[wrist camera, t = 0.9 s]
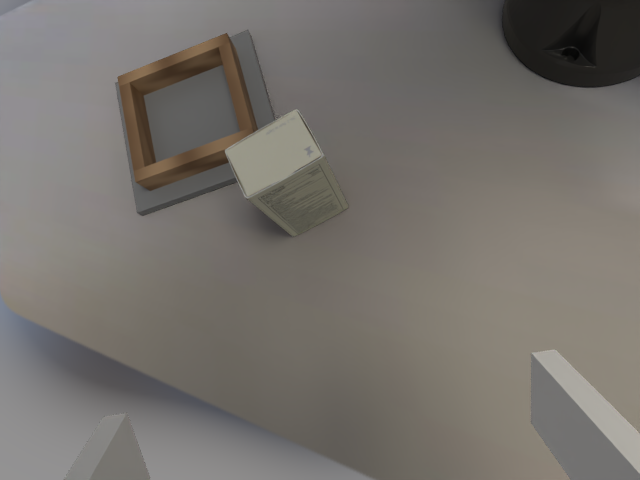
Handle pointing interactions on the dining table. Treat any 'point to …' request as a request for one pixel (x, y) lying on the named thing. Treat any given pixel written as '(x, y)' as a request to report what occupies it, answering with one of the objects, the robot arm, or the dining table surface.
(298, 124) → the skincare box
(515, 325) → the dining table surface
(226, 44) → the walnut collar
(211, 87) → the slate tray
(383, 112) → the dining table surface
